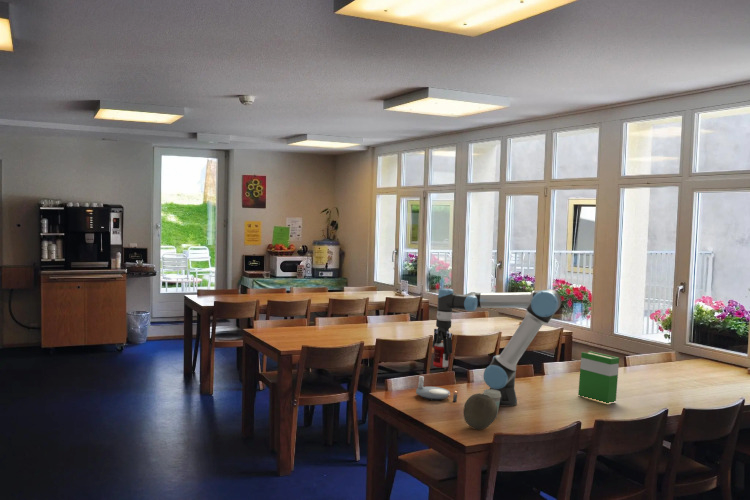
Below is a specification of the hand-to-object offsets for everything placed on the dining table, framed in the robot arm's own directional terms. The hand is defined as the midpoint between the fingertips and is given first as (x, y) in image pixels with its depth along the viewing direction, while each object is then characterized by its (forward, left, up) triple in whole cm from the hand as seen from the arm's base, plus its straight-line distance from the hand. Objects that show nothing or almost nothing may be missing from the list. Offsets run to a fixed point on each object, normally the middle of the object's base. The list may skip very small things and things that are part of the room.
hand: (440, 364), depth 323 cm
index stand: (-1, +1, -17) cm, 17 cm away
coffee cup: (-33, +3, -17) cm, 38 cm away
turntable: (+2, +1, -15) cm, 16 cm away
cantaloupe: (-40, +22, -17) cm, 49 cm away
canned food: (0, 0, -1) cm, 1 cm away
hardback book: (-49, -72, -17) cm, 89 cm away
